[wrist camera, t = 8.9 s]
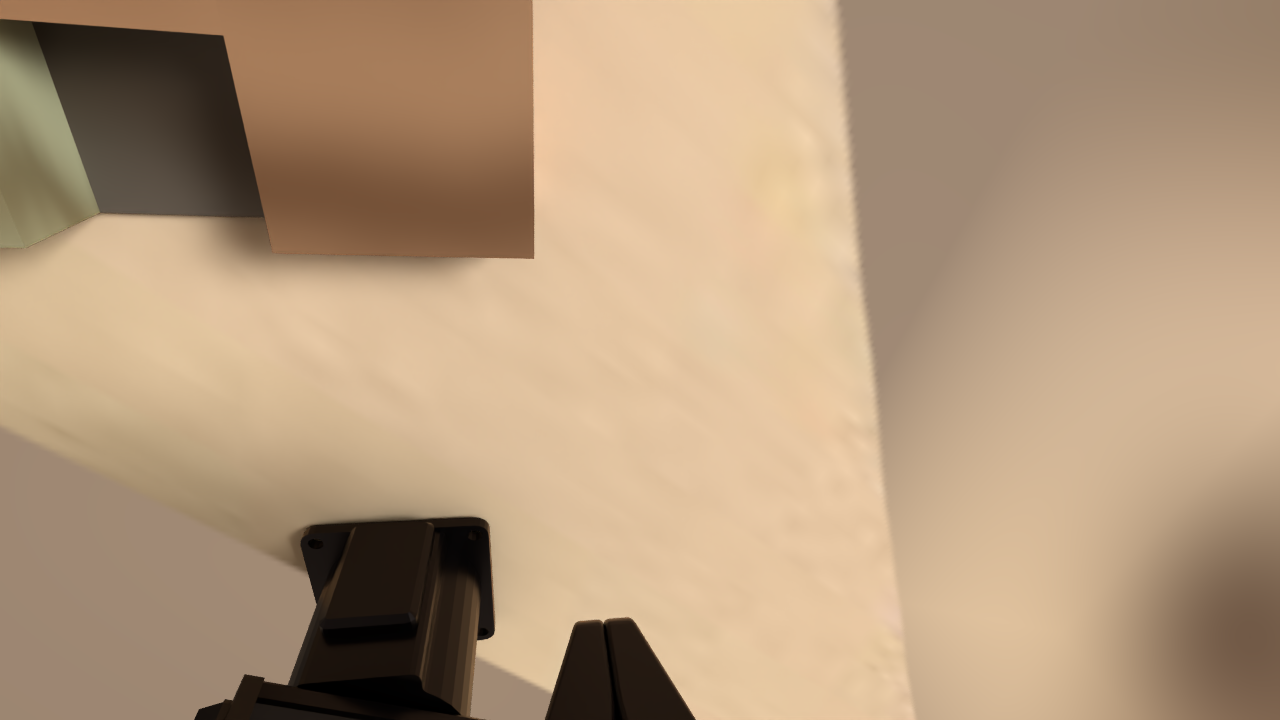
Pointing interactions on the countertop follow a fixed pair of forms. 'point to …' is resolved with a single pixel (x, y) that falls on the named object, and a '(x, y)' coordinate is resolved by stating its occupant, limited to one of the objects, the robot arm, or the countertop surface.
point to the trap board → (274, 120)
